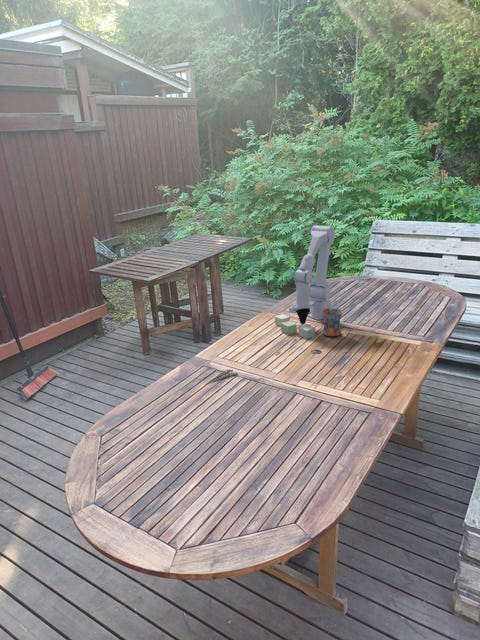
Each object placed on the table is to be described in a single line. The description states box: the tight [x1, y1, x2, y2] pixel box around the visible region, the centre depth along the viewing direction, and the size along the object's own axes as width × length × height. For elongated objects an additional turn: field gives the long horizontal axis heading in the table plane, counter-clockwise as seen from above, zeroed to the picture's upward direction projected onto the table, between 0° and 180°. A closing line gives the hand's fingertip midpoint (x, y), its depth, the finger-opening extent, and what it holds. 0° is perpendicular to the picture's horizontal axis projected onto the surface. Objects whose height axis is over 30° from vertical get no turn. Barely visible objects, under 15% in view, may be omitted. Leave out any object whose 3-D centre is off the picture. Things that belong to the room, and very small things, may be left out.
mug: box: [321, 307, 344, 337], centre depth 202 cm, size 12×9×11 cm
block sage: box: [280, 320, 297, 335], centre depth 208 cm, size 5×5×4 cm
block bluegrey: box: [298, 324, 316, 340], centre depth 202 cm, size 5×5×4 cm
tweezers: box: [204, 368, 239, 386], centre depth 169 cm, size 18×5×2 cm, turn 130°
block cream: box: [274, 313, 291, 327], centre depth 216 cm, size 5×5×4 cm
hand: (302, 323), depth 212 cm, fingers closed
